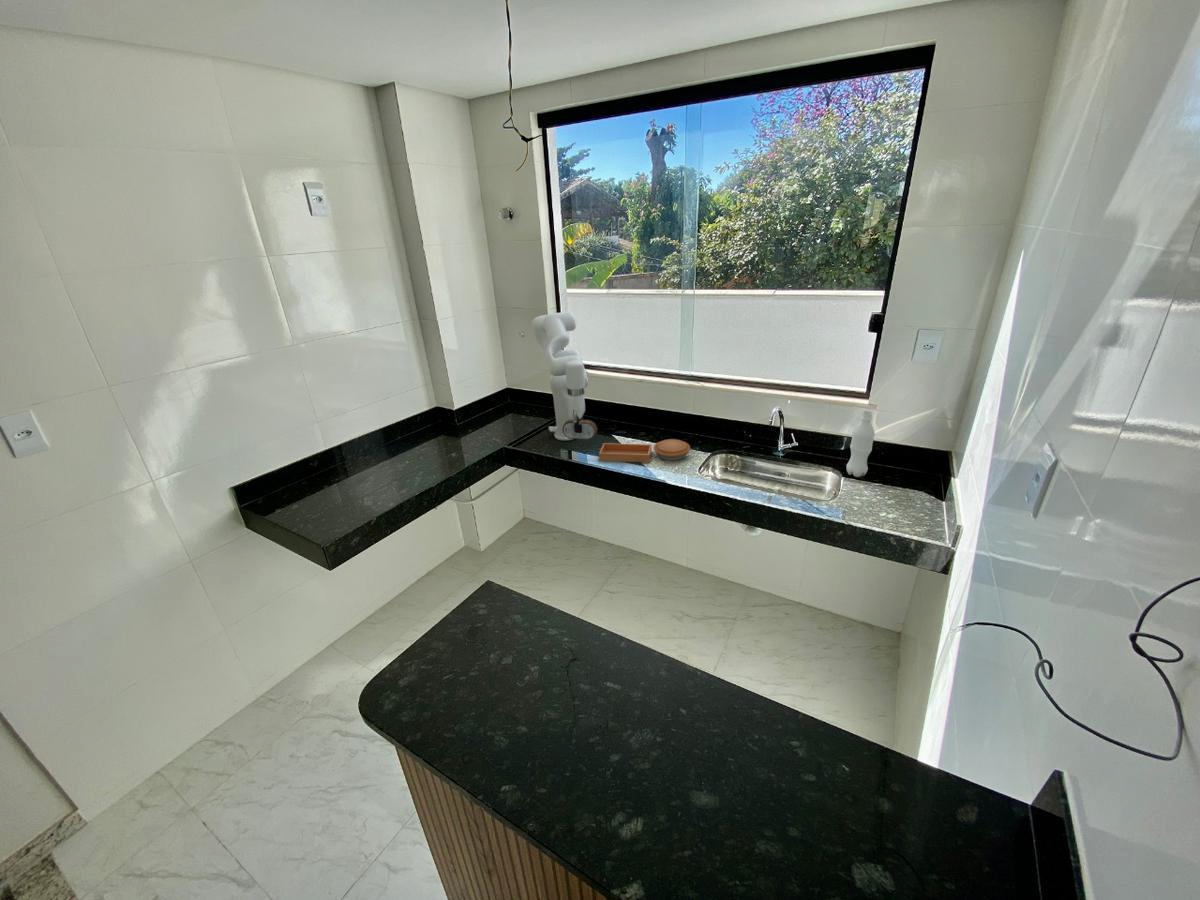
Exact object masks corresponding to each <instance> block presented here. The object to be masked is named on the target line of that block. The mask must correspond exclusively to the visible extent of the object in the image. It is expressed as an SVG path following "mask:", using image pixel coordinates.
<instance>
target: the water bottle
mask: <svg viewBox="0 0 1200 900" xmlns="http://www.w3.org/2000/svg"><path fill="white" fill-rule="evenodd" d="M872 415H873V412H872V411H869V410H864V411H862V414H861V417H860V421H859V422H858V423H857V425H856V426H855V427H854V429H853V430H852V435H851V441H850V444H849V448H850V458H849V460H848V462H847V464H846V467H845V468H846V472H847V474H848V475H849V476H852V475H853V477H855V478H860V477H864V476H865V475H866V474H867V473H868V470H869V467H868V458H869V455H870V454H871V452H872V451H873V443H874V438H875V437H876V436H875V434H876V433H875V429H874V427H873V424H872V420H873V417H872Z"/></svg>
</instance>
